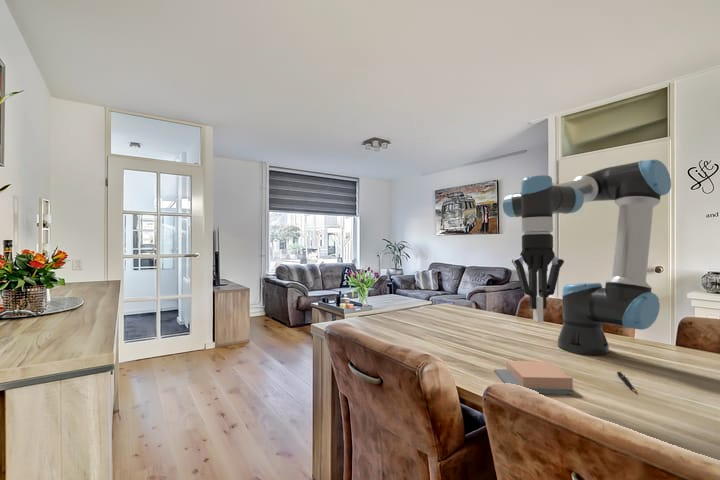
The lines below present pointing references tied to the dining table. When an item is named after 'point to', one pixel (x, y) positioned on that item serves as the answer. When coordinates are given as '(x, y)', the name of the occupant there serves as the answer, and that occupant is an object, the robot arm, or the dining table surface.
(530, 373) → the glazed tile
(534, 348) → the dining table surface
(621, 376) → the fountain pen
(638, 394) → the dining table surface
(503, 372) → the mat
